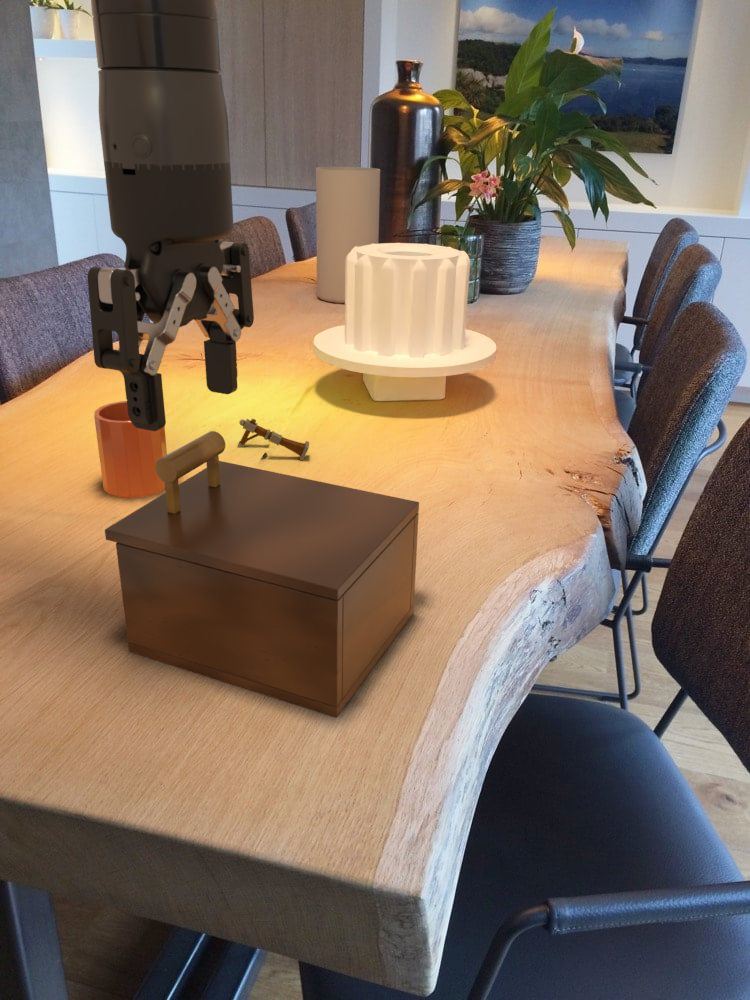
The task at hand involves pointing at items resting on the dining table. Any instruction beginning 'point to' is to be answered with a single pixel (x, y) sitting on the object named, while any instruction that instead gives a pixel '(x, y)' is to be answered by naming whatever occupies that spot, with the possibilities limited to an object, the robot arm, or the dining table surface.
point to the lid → (263, 522)
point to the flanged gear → (405, 321)
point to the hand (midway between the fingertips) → (187, 408)
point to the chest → (268, 623)
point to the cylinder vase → (343, 222)
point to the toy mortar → (271, 438)
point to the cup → (128, 453)
